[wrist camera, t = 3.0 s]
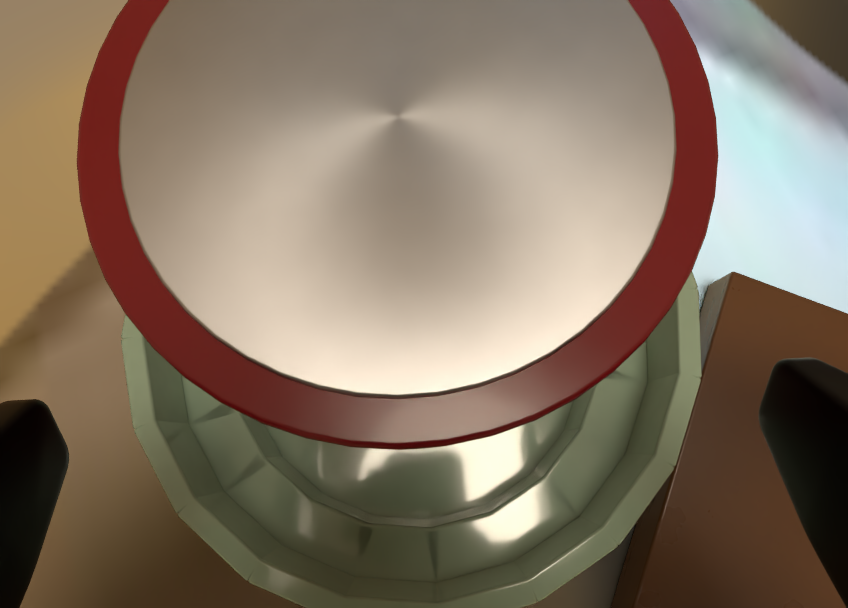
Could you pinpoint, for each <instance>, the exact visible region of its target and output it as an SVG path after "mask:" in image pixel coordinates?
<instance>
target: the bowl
mask: <svg viewBox="0 0 848 608" xmlns="http://www.w3.org/2000/svg"><path fill="white" fill-rule="evenodd" d="M121 338H122V340H121V345H122V352H123V359H124V366H125V373H126V380H127V388H128V395H129V402H130V409H131V416H132V423H133V428H134V429H135V430H134V431H135V434H136V436H137V438H138V440H139V442H140V444H141V446H142V448H143V450H144V452H145V454H146V456H147V458H148V460H149V462H150V464H151V466H152V467H153V469H154V471H155V473H156V475H157V477H158V479H159V481H160V483H161V485H162V487H163V489H164V491H165V493H166V495H167V497H168V499H169V501H170V503H171V505H172V507H173V509H174V511H175V512H176V513H178V516H179V517H180V518H181V519H182V520H183V521H184V522H185V523H186V524H187V525H188V526H189V527H190V528H191V529H192V530H193V531H194V532H195V533H196V534H197V535H198V536H199V537H201V538H202V539H203V540H204V541H205V542H206V543H207V544H208V545H209V546H210V547H211V548H212V549H213V550H214V551H215V552H216V553H217V554H218V555H219V556H220V557H222V558H223V559H224V560H225V561H226V562H227V563H228V564H229V565H230V566H231V567H232V568H233V569H234V570H235V571H236V572H237V573H238V574H239V575H240V576H242V577H243V578H244V579H245V580H247V581H248V580H249V583H251V584H253V585H255V586H257V587H260V588H262V589H264V590H266V591H269V592H271V593H273V594H275V595H278V596H280V597H282V598H284V599H287V600H289V601H291V602H293V603H296V604H298V605H300V606H302V607H305V608H522V607H526V606H529V605H533V604H535V603H537V601H538V602H540V601H542V600H543V599H545V598H546V597H547V596H549V595H550V594H552V593H553V592H554V591H556V590H557V589H559V588H560V587H562V586H563V585H564V584H566V583H567V582H569V581H570V580H572V579H573V578H574V577H576V576H577V575H579V574H580V573H582V572H583V571H584V570H586V569H587V568H589V567H590V566H592V565H593V564H594V563H596V562H597V561H599V560H600V559H601V558H603V557H604V556H606V555H607V554H609V553H610V552H611V551H613V550H614V549H616V548H617V547H618V545H619V544H621V543H622V541H623V540H624V539H625V537H626V536H627V534H628V533H629V532H630V530H631V529H632V527H633V526H634V525H635V523H636V522H637V520H638V519H639V518H640V516H641V515H642V513H643V512H644V511H645V509H646V508H647V506H648V505H649V504H650V502H651V501H652V499H653V498H654V497H655V495H656V494H657V492H658V491H659V490H660V488H661V487H662V485H663V484H664V483H665V481H666V480H667V478H668V477H669V476H670V474H671V473H672V471H673V470H674V467H675V465H676V463H677V460H678V456H679V453H680V450H681V446H682V443H683V439H684V436H685V433H686V429H687V426H688V423H689V419H690V416H691V412H692V409H693V406H694V402H695V399H696V396H697V392H698V389H699V385H700V382H701V379H700V378H701V376H702V373H701V346H700V320H699V293H698V289H697V284H696V281H695V278H694V276H693V273H692V272H691V274H690V276H689V277H688V279H687V281H686V283H685V284H684V286H683V288H682V290H681V291H680V293H679V295H678V297H677V298H676V300H675V302H674V304H673V305H672V307H671V309H670V310H669V311H668V313H667V314H666V315H665V317H664V318H663V319H662V320H661V322H660V323H659V324H658V326H657V327H656V328H655V329H654V331H653V332H652V333H651V334H650V336H649V337H648V338H647V340H646V341H645V342H644V343H643V344H642V345H641V346H640V347H639V348H638V349H637V350H636V351H635V352H634V353H633V354H632V355H631V356H630V357H629V358H628V359H627V360H625V361H624V362H623V363H622V364H621V365H620V366H619V367H618V368H617V369H616V370H615V371H614V372H613V373H612V374H610V375H609V376H608V377H606V378H605V379H603V380H602V381H601V382H599V383H598V384H596V385H595V386H594V387H592V388H591V389H589V390H588V391H587V392H585V393H584V394H583V395H581V396H580V397H578V398H577V399H575V400H574V401H572V402H570V403H568V404H566V405H564V406H562V407H560V408H558V409H556V410H555V411H553V412H551V413H549V414H547V415H545V416H543V417H541V418H539V419H537V420H536V421H533V422H530V423H527V424H525V425H522V426H519V427H516V428H514V429H511V430H508V431H505V432H503V433H500V434H497V435H494V436H491V437H487V438H482V439H477V440H473V441H468V442H464V443H459V444H454V445H450V446H444V447H435V448H425V449H410V450H390V449H372V448H354V447H347V446H342V445H337V444H332V443H327V442H321V441H316V440H311V439H306V438H303V437H300V436H297V435H294V434H291V433H288V432H285V431H282V430H279V429H276V428H273V427H271V426H268V425H265V424H262V423H260V422H258V421H256V420H254V419H252V418H250V417H248V416H246V415H244V414H242V413H240V412H238V411H236V410H234V409H232V408H230V407H228V406H226V405H224V404H222V403H220V402H219V401H217V400H216V399H215V398H213V397H212V396H210V395H209V394H207V393H206V392H204V391H203V390H202V389H200V388H199V387H197V386H196V385H194V384H193V383H191V382H190V381H189V380H187V379H186V378H184V377H183V376H182V375H181V374H180V373H179V372H178V371H177V370H176V369H175V368H174V367H173V366H171V365H170V364H169V363H168V362H167V361H166V360H165V359H164V358H163V357H162V356H161V355H160V354H159V353H157V352H156V351H155V350H154V349H153V348H152V347H151V345H150V344H149V343H148V342H147V340H146V339H145V338H144V337H143V335H142V334H141V333H140V332H139V330H138V329H137V328H136V327H135V325H134V324H133V323H132V322H131V320H130V319H129V318H128V317H127V315H126V314H125V319H124V324H123V329H122V335H121Z"/></svg>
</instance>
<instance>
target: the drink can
mask: <svg viewBox="0 0 848 608" xmlns="http://www.w3.org/2000/svg"><path fill="white" fill-rule="evenodd" d="M717 164H718V145H717V129H716V116H715V112H714V107H713V102H712V97H711V92H710V87H709V83H708V79H707V76H706V74H705V71H704V68H703V65H702V62H701V60H700V57H699V54H698V51H697V48H696V46H695V44H694V42H693V40H692V38H691V36H690V34H689V32H688V30H687V28H686V26H685V25H684V23H683V21H682V19H681V17H680V15H679V13H678V12H677V10H676V9H675V7H674V6H673V4H672V3H671V2H670V0H128V2H127V3H126V4H125V6H124V7H123V9H122V11H121V12H120V13H119V15H118V16H117V18H116V19H115V21H114V23H113V25H112V27H111V29H110V31H109V33H108V35H107V37H106V39H105V41H104V43H103V45H102V47H101V49H100V51H99V53H98V56H97V59H96V62H95V64H94V67H93V71H92V73H91V76H90V79H89V81H88V84H87V88H86V93H85V97H84V102H83V108H82V112H81V117H80V122H79V136H78V151H77V170H78V181H79V193H80V202H81V206H82V210H83V215H84V219H85V223H86V227H87V231H88V236H89V240H90V243H91V245H92V248H93V250H94V253H95V255H96V258H97V260H98V263H99V265H100V268H101V270H102V273H103V275H104V278H105V280H106V282H107V283H108V285H109V287H110V288H111V290H112V292H113V294H114V295H115V297H116V299H117V300H118V302H119V304H120V305H121V307H122V309H123V311H124V312H125V314H126V315H127V317H128V318H129V319H130V320H131V322H132V323H133V324H134V325H135V327H136V328H137V329H138V330H139V332H140V333H141V334H142V335H143V337H144V338H145V339H146V340H147V342H148V343H149V344H150V345H151V347H152V348H153V349H154V350H155V351H156V352H157V353H159V354H160V355H161V356H162V357H163V358H164V359H165V360H166V361H167V362H168V363H169V364H170V365H171V366H173V367H174V368H175V369H176V370H177V371H178V372H179V373H180V374H181V375H182V376H183V377H184V378H186V379H187V380H189V381H190V382H191V383H193V384H194V385H196V386H197V387H199V388H200V389H202V390H203V391H204V392H206V393H207V394H209V395H210V396H212V397H213V398H215V399H216V400H217V401H219V402H220V403H222V404H224V405H226V406H228V407H230V408H232V409H234V410H236V411H238V412H240V413H242V414H244V415H246V416H248V417H250V418H252V419H254V420H256V421H258V422H260V423H262V424H265V425H268V426H271V427H273V428H276V429H279V430H282V431H285V432H288V433H291V434H294V435H297V436H300V437H303V438H306V439H311V440H316V441H321V442H327V443H332V444H337V445H342V446H347V447H354V448H372V449H390V450H410V449H425V448H435V447H444V446H450V445H454V444H459V443H464V442H468V441H473V440H477V439H482V438H487V437H491V436H494V435H497V434H500V433H503V432H505V431H508V430H511V429H514V428H516V427H519V426H522V425H525V424H527V423H530V422H533V421H536V420H537V419H539V418H541V417H543V416H545V415H547V414H549V413H551V412H553V411H555V410H556V409H558V408H560V407H562V406H564V405H566V404H568V403H570V402H572V401H574V400H575V399H577V398H578V397H580V396H581V395H583V394H584V393H585V392H587V391H588V390H589V389H591V388H592V387H594V386H595V385H596V384H598V383H599V382H601V381H602V380H603V379H605V378H606V377H608V376H609V375H610V374H612V373H613V372H614V371H615V370H616V369H617V368H618V367H619V366H620V365H621V364H622V363H623V362H624V361H625V360H627V359H628V358H629V357H630V356H631V355H632V354H633V353H634V352H635V351H636V350H637V349H638V348H639V347H640V346H641V345H642V344H643V343H644V342H645V341H646V340H647V338H648V337H649V336H650V334H651V333H652V332H653V331H654V329H655V328H656V327H657V326H658V324H659V323H660V322H661V320H662V319H663V318H664V317H665V315H666V314H667V313H668V311H669V310H670V309H671V307H672V305H673V304H674V302H675V300H676V298H677V297H678V295H679V293H680V291H681V290H682V288H683V286H684V284H685V283H686V281H687V279H688V277H689V276H690V274H691V272H692V269H693V267H694V264H695V262H696V259H697V256H698V254H699V251H700V249H701V246H702V244H703V241H704V239H705V236H706V232H707V228H708V224H709V219H710V215H711V211H712V206H713V202H714V198H715V188H716V176H717Z"/></svg>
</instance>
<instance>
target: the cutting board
mask: <svg viewBox="0 0 848 608" xmlns="http://www.w3.org/2000/svg"><path fill="white" fill-rule="evenodd" d="M699 320H700V346H701V373H702V376H701V378H700V379H701V382H700V385H699V389H698V392H697V396H696V399H695V402H694V406H693V409H692V412H691V416H690V419H689V423H688V426H687V429H686V433H685V436H684V439H683V443H682V446H681V450H680V453H679V456H678V460H677V463H676V465H675V467H674V470H673V471H672V473H671V474H670V476H669V477H668V478H667V480H666V481H665V483H664V484H663V485H662V487H661V488H660V490H659V491H658V492H657V494H656V495H655V497H654V498H653V499H652V501H651V502H650V504H649V505H648V506H647V508H646V509H645V511H644V512H643V513H642V515H641V516H640V518H639V519H638V520H637V523H636V527H635V530H634V533H633V536H632V540H631V543H630V546H629V550H628V553H627V556H626V559H625V563H624V566H623V569H622V573H621V576H620V579H619V582H618V586H617V589H616V592H615V596H614V599H613V602H612V606H611V608H846V606H845V604H844V603H843V601H842V599H841V597H840V595H839V594H838V592H837V590H836V588H835V586H834V585H833V583H832V581H831V579H830V577H829V576H828V574H827V572H826V570H825V569H824V567H823V565H822V563H821V561H820V560H819V558H818V556H817V554H816V552H815V550H814V548H813V546H812V544H811V542H810V541H809V539H808V536H807V534H806V532H805V530H804V528H803V526H802V524H801V521H800V519H799V517H798V515H797V512H796V510H795V508H794V505H793V503H792V501H791V498H790V496H789V494H788V491H787V489H786V487H785V484H784V482H783V479H782V477H781V475H780V472H779V470H778V468H777V465H776V463H775V461H774V458H773V456H772V454H771V451H770V449H769V447H768V444H767V442H766V440H765V437H764V435H763V433H762V430H761V427H760V424H759V407H760V404H761V401H762V398H763V395H764V392H765V389H766V386H767V383H768V380H769V377H770V374H771V371H772V369H773V367H774V365H775V364H776V363H777V362H778V361H780V360H782V359H789V358H816V359H819V360H821V361H823V362H825V363H827V364H829V365H832V366H834V367H836V368H838V369H840V370H842V371H844V372H846V373H848V314H847V313H844V312H842V311H839V310H836V309H833V308H831V307H828V306H825V305H823V304H820V303H817V302H815V301H812V300H809V299H806V298H804V297H801V296H798V295H796V294H793V293H790V292H787V291H785V290H782V289H779V288H777V287H774V286H771V285H768V284H766V283H763V282H760V281H758V280H755V279H752V278H750V277H747V276H744V275H741V274H739V273H736V272H731V273H729V274H728V275H726V276H724V277H722V278H721V279H719V280H717V281H715V282H714V283H712V284H710V285H709V286H708V290H707V293H706V296H705V299H704V303H703V306H702V309H701V313H700V316H699Z"/></svg>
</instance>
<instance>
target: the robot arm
mask: <svg viewBox="0 0 848 608" xmlns="http://www.w3.org/2000/svg"><path fill="white" fill-rule="evenodd" d="M759 424H760V427H761V430H762V433H763V435H764V437H765V440H766V442H767V444H768V447H769V449H770V451H771V454H772V456H773V458H774V461H775V463H776V465H777V468H778V470H779V472H780V475H781V477H782V479H783V482H784V484H785V487H786V489H787V491H788V494H789V496H790V498H791V501H792V503H793V505H794V508H795V510H796V512H797V515H798V517H799V519H800V521H801V524H802V526H803V528H804V530H805V532H806V534H807V536H808V539H809V541H810V542H811V544H812V546H813V548H814V550H815V552H816V554H817V556H818V558H819V560H820V561H821V563H822V565H823V567H824V569H825V570H826V572H827V574H828V576H829V577H830V579H831V581H832V583H833V585H834V586H835V588H836V590H837V592H838V594H839V595H840V597H841V599H842V601H843V603H844V604H845V606H846V608H848V373H846V372H844V371H842V370H840V369H838V368H836V367H834V366H832V365H829V364H827V363H825V362H823V361H821V360H819V359H816V358H789V359H782V360H780V361H778V362H777V363H776V364H775V365H774V367H773V369H772V371H771V374H770V377H769V380H768V383H767V386H766V389H765V392H764V395H763V398H762V401H761V404H760V407H759ZM68 463H69V452H68V448H67V445H66V443H65V441H64V438H63V436H62V434H61V432H60V430H59V428H58V426H57V424H56V422H55V420H54V418H53V415H52V413H51V411H50V409H49V408H48V406H47V405H46V404H45V403H44V402H42V401H40V400H36V399H32V400H14V401H6V402H3V403H1V404H0V608H19V607H20V605H21V603H22V600H23V598H24V595H25V593H26V591H27V588H28V586H29V583H30V580H31V578H32V575H33V572H34V569H35V567H36V564H37V561H38V558H39V554H40V551H41V548H42V545H43V542H44V539H45V536H46V533H47V530H48V527H49V524H50V521H51V518H52V515H53V511H54V508H55V505H56V502H57V499H58V496H59V493H60V490H61V487H62V484H63V481H64V478H65V475H66V471H67V468H68Z"/></svg>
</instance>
